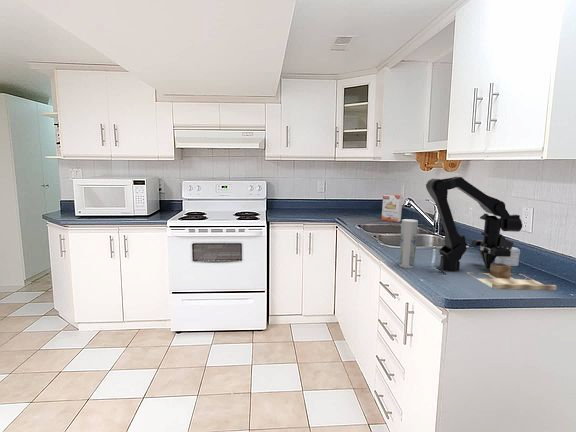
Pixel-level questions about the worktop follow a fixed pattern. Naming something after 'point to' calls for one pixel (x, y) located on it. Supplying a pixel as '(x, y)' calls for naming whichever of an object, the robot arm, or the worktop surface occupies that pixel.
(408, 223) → the spray can
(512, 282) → the trap board
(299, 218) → the worktop surface
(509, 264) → the medicine box
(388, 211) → the cracker box
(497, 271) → the walnut block
